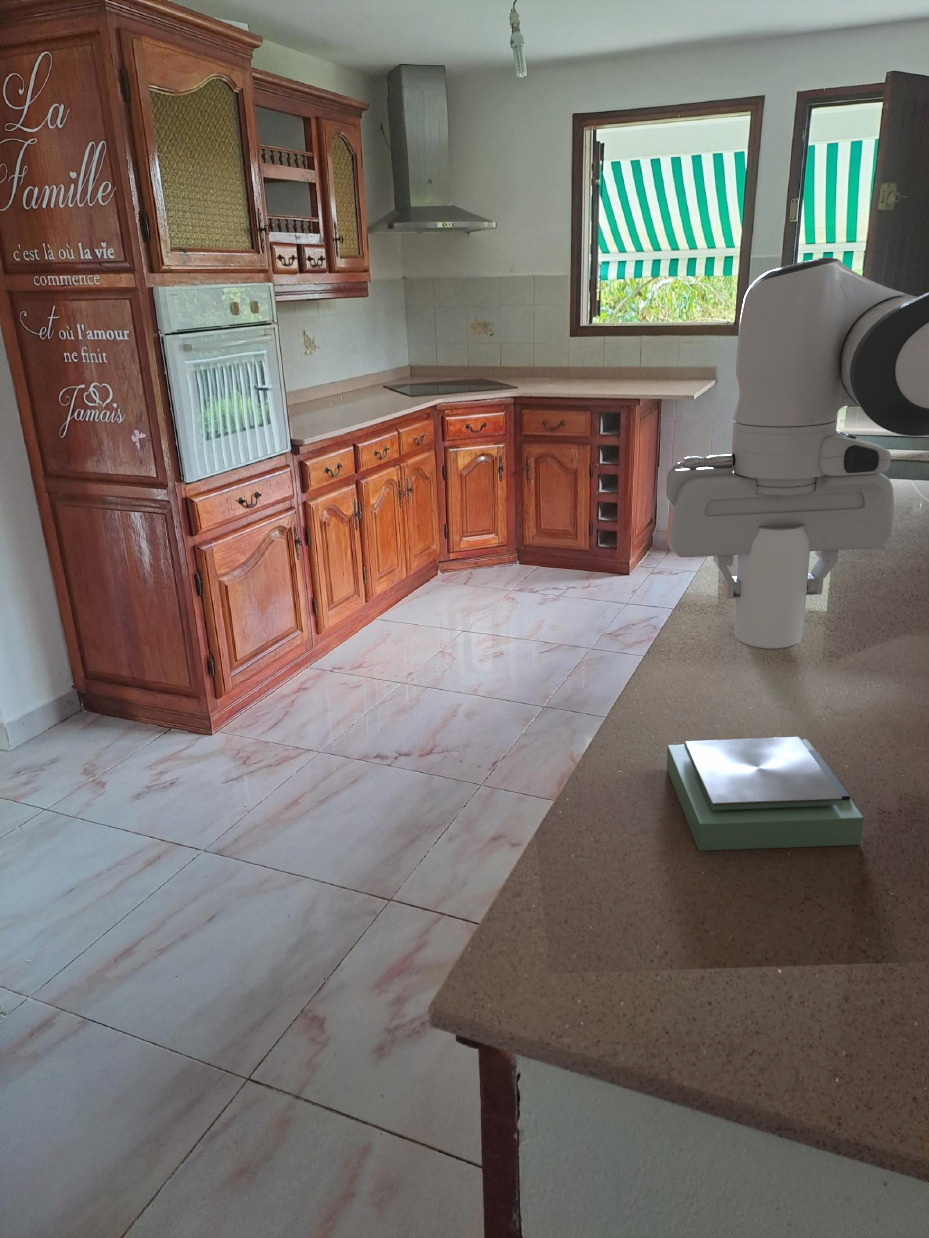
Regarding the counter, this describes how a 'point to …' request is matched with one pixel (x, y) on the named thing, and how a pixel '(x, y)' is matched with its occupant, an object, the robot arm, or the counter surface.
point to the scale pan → (760, 774)
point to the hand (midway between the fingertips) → (772, 595)
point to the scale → (762, 815)
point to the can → (773, 589)
